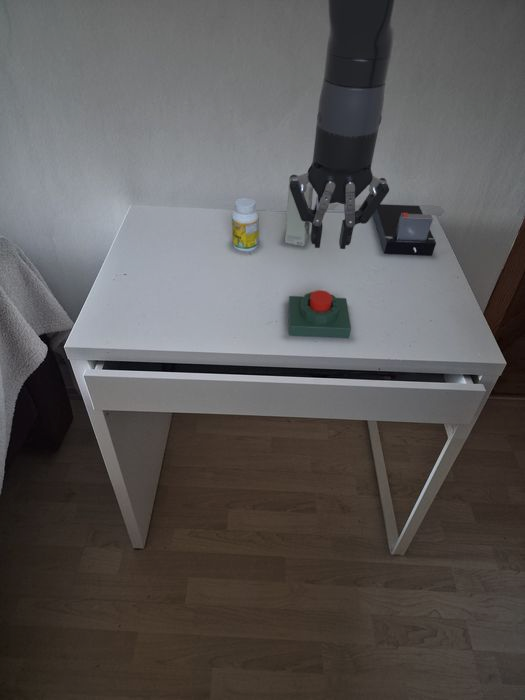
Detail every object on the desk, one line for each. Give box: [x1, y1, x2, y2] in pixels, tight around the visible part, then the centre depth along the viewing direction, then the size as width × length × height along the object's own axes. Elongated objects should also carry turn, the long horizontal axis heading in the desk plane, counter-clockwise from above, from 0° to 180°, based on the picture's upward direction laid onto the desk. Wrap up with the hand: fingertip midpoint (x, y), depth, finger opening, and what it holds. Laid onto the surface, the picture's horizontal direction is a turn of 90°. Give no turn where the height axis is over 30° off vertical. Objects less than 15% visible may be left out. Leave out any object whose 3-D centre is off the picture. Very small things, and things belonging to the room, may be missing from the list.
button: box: [309, 289, 332, 312], centre depth 74 cm, size 4×4×2 cm
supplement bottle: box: [231, 197, 260, 252], centre depth 90 cm, size 5×5×10 cm
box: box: [284, 174, 314, 247], centre depth 91 cm, size 5×4×13 cm
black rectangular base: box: [372, 203, 437, 257], centre depth 95 cm, size 20×10×3 cm, turn 178°
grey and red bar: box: [395, 213, 434, 241], centre depth 89 cm, size 6×2×5 cm, turn 88°
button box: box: [288, 291, 352, 339], centre depth 75 cm, size 10×8×4 cm
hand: (329, 245), depth 66 cm, fingers open, 3 cm apart
